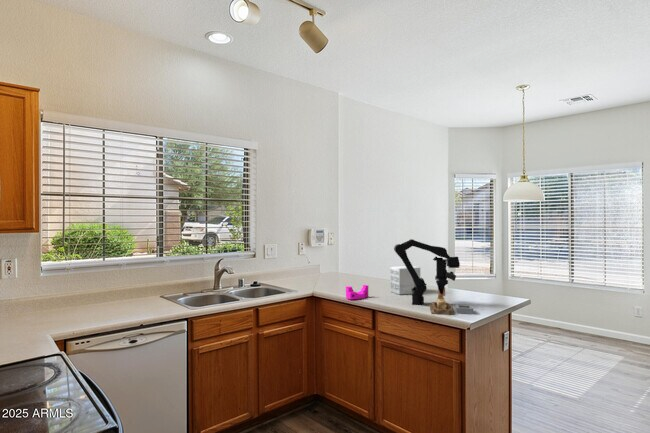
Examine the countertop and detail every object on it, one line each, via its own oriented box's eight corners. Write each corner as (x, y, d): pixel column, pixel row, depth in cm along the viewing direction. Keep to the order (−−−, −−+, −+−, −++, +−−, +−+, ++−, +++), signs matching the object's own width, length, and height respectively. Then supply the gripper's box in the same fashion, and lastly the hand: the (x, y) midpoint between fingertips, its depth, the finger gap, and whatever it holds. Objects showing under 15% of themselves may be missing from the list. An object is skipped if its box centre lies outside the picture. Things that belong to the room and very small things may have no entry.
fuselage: (438, 311, 215) (438, 298, 215) (437, 306, 226) (437, 294, 226) (445, 311, 214) (445, 298, 214) (444, 306, 225) (444, 294, 225)
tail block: (438, 295, 235) (438, 287, 235) (437, 294, 238) (437, 286, 239) (445, 296, 234) (445, 287, 234) (444, 294, 238) (444, 286, 238)
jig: (431, 313, 212) (431, 309, 212) (429, 305, 231) (429, 301, 231) (454, 314, 209) (454, 310, 209) (450, 306, 229) (450, 302, 229)
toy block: (350, 299, 251) (350, 287, 251) (345, 297, 257) (345, 286, 257) (370, 297, 257) (370, 286, 257) (365, 295, 263) (365, 284, 263)
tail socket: (457, 313, 212) (457, 307, 212) (455, 309, 221) (455, 304, 221) (473, 314, 211) (473, 308, 211) (471, 310, 219) (471, 305, 219)
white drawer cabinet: (410, 290, 284) (410, 265, 284) (421, 293, 271) (420, 267, 271) (389, 291, 278) (389, 266, 278) (399, 294, 265) (399, 268, 265)
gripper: (456, 270, 225) (457, 297, 225) (453, 266, 244) (453, 291, 243) (436, 269, 228) (437, 296, 228) (435, 265, 246) (435, 290, 246)
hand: (441, 293), depth 236 cm, fingers closed on tail block, 4 cm apart
